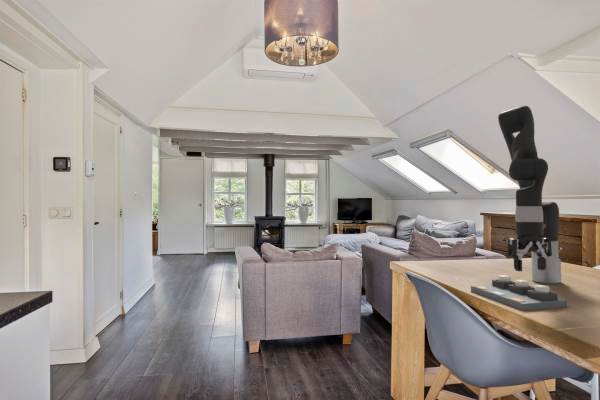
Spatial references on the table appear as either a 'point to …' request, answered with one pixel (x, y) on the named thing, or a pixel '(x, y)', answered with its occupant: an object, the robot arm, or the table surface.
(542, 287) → the button
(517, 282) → the button
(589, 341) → the table surface
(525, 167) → the robot arm
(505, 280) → the button
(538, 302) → the switch panel
